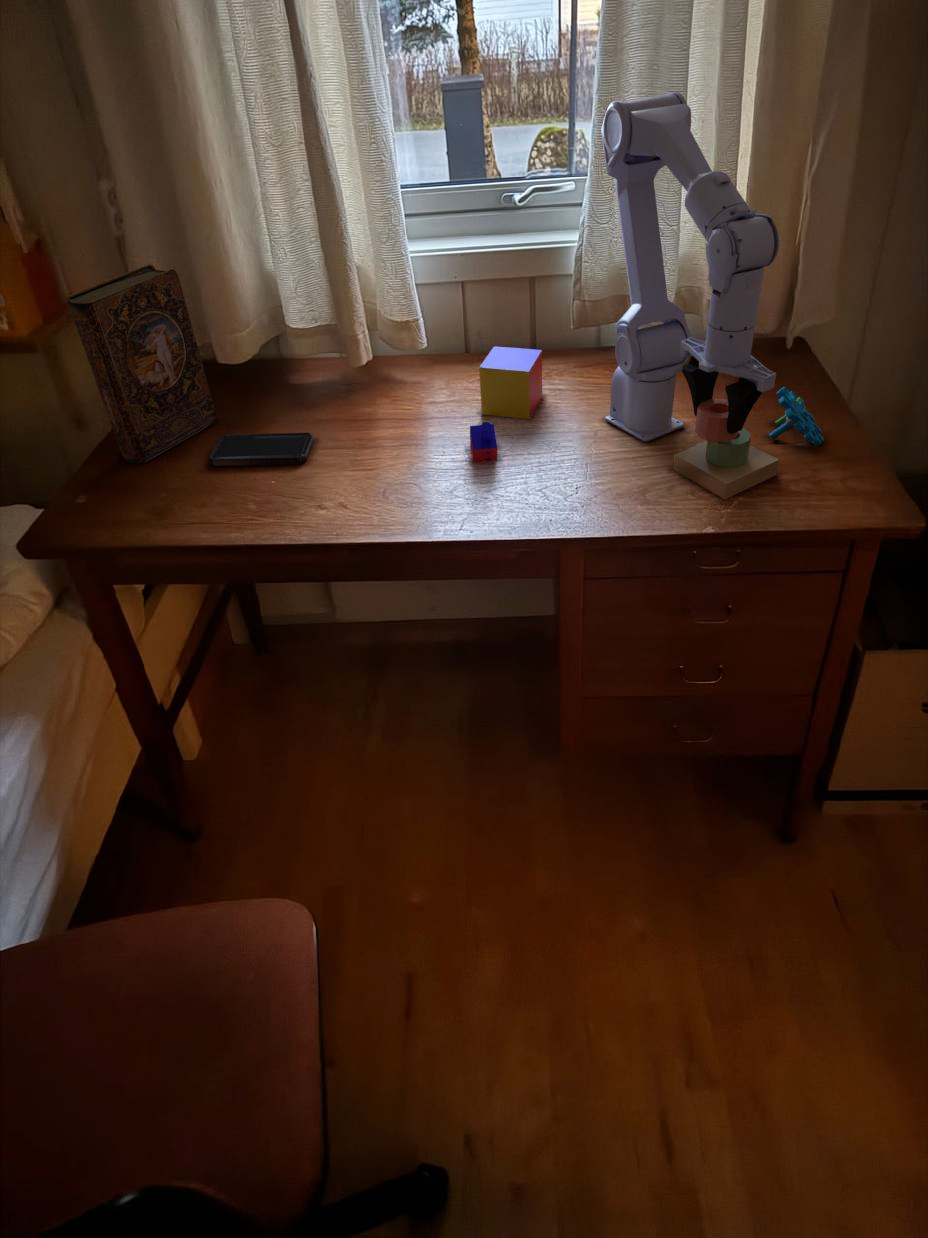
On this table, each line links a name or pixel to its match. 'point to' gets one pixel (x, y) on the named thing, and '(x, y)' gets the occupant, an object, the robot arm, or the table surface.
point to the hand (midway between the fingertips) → (717, 422)
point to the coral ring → (713, 421)
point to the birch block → (725, 470)
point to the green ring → (729, 450)
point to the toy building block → (483, 442)
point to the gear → (796, 418)
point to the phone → (262, 449)
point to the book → (144, 360)
